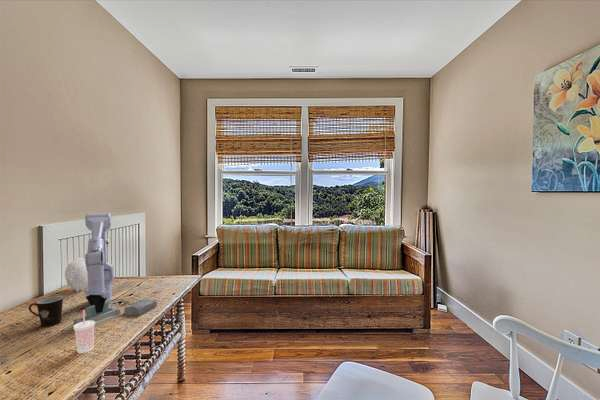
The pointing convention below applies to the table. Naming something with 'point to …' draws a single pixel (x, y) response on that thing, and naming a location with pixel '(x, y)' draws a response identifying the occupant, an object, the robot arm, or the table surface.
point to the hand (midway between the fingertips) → (97, 311)
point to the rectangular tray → (101, 316)
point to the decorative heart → (76, 274)
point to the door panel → (92, 312)
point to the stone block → (140, 307)
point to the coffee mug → (49, 310)
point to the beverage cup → (84, 335)
